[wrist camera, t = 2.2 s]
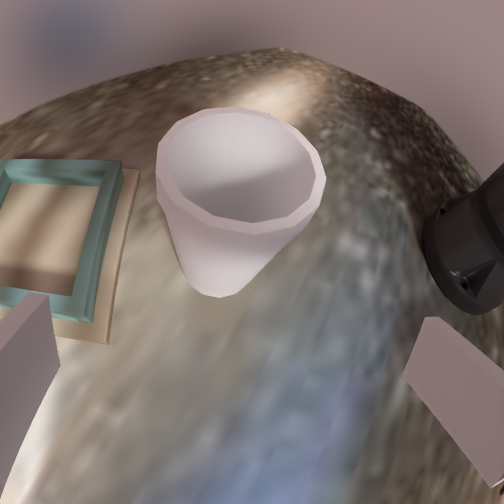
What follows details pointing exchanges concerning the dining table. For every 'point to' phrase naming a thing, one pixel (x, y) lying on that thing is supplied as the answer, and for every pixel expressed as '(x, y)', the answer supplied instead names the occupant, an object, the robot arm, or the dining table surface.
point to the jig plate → (65, 238)
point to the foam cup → (234, 193)
